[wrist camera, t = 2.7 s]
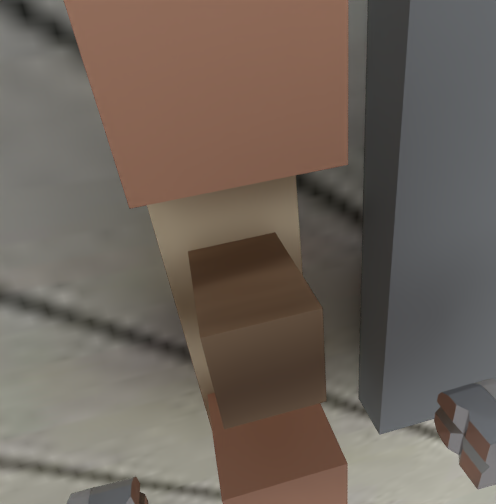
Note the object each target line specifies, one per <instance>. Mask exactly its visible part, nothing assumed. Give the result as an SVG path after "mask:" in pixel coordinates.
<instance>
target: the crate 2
mask: <svg viewBox="0 0 496 504" xmlns="http://www.w3.org/2000/svg"><path fill="white" fill-rule="evenodd" d="M207 397H208V404H209V411H210V418H211V425H212V433H213V440H214V447H215V454H216V461H217V468H218V475H219V482H220V489H221V496H222V502H223V504H347V462H346V459H345V457H344V455H343V453H342V451H341V448H340V446H339V444H338V442H337V439H336V437H335V435H334V433H333V431H332V428H331V426H330V424H329V422H328V420H327V417H326V415H325V413H324V411H323V409H322V406H321V404H320V403H319V404H315V405H311V406H308V407H304V408H301V409H297V410H293V411H290V412H286V413H282V414H279V415H275V416H272V417H268V418H264V419H261V420H257V421H253V422H250V423H246V424H242V425H239V426H235V427H232V428H228V429H224V427H223V423H222V419H221V415H220V411H219V408H218V404H217V400H216V396H215V393H212V394H208V395H207Z"/></svg>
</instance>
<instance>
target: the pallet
mask: <svg viewBox="0 0 496 504" xmlns="http://www.w3.org/2000/svg"><path fill="white" fill-rule="evenodd" d="M147 208H148V211H149V215H150V218H151V221H152V225H153V228H154V232H155V235H156V239H157V242H158V246H159V249H160V253H161V256H162V259H163V263H164V266H165V270H166V273H167V277H168V280H169V284H170V287H171V290H172V294H173V297H174V301H175V304H176V308H177V311H178V315H179V318H180V321H181V325H182V328H183V332H184V335H185V339H186V342H187V346H188V349H189V352H190V356H191V359H192V363H193V366H194V370H195V373H196V377H197V380H198V383H199V387H200V390H201V394H202V397H203V401H204V404H205V408H206V411H207V415H208V418H209V421H210V425H211V418H210V411H209V404H208V397H207V395H208V394H212V393H215V396H216V400H217V404H218V408H219V411H220V415H221V419H222V423H223V427H224V429H228V428H232V427H235V426H239V425H242V424H246V423H250V422H253V421H257V420H261V419H264V418H268V417H272V416H275V415H279V414H282V413H286V412H290V411H293V410H297V409H301V408H304V407H308V406H311V405H315V404H319V403H322V402H326V377H325V353H324V328H323V308H322V306H321V305H320V303H319V301H318V300H317V298H316V297H315V295H314V293H313V292H312V290H311V289H310V287H309V285H308V284H307V282H306V281H305V279H304V277H303V272H302V258H301V243H300V229H299V215H298V201H297V187H296V175H295V176H290V177H285V178H280V179H275V180H270V181H265V182H260V183H255V184H250V185H245V186H240V187H235V188H230V189H225V190H220V191H215V192H210V193H205V194H200V195H195V196H190V197H185V198H180V199H175V200H171V201H166V202H161V203H156V204H151V205H147ZM211 428H212V425H211Z"/></svg>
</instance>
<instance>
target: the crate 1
mask: <svg viewBox="0 0 496 504" xmlns="http://www.w3.org/2000/svg"><path fill="white" fill-rule="evenodd" d="M64 3H65V6H66V9H67V13H68V16H69V19H70V22H71V25H72V28H73V31H74V35H75V38H76V41H77V44H78V47H79V50H80V54H81V57H82V60H83V63H84V66H85V69H86V73H87V76H88V79H89V82H90V85H91V88H92V91H93V95H94V98H95V101H96V104H97V107H98V110H99V114H100V117H101V120H102V123H103V126H104V129H105V133H106V136H107V139H108V142H109V145H110V148H111V151H112V155H113V158H114V161H115V164H116V167H117V170H118V174H119V177H120V180H121V183H122V186H123V189H124V193H125V196H126V199H127V202H128V205H129V208H130V209H131V208H136V207H141V206H146V205H151V204H156V203H161V202H166V201H171V200H175V199H180V198H185V197H190V196H195V195H200V194H205V193H210V192H215V191H220V190H225V189H230V188H235V187H240V186H245V185H250V184H255V183H260V182H265V181H270V180H275V179H280V178H285V177H290V176H295V175H300V174H305V173H310V172H315V171H320V170H324V169H329V168H334V167H339V166H344V165H348V0H64Z"/></svg>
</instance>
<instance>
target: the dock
mask: <svg viewBox="0 0 496 504" xmlns="http://www.w3.org/2000/svg"><path fill="white" fill-rule="evenodd" d="M486 379H495V380H496V0H368V34H367V75H366V116H365V157H364V199H363V240H362V281H361V322H360V364H359V400H360V401H361V403H362V405H363V407H364V408H365V410H366V412H367V414H368V415H369V417H370V419H371V421H372V422H373V424H374V426H375V428H376V429H377V431H378V433H379V435H380V434H383V433H387V432H390V431H393V430H397V429H400V428H404V427H407V426H411V425H414V424H417V423H421V422H424V421H428V420H431V419H435V412H436V411H437V410H438V409H439V408H440V405H439V404H438V402H437V399H438V395H439V394H440V393H441V392H444V391H447V390H451V389H454V388H457V387H461V386H464V385H467V384H471V383H476V382H480V381H483V380H486Z"/></svg>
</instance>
